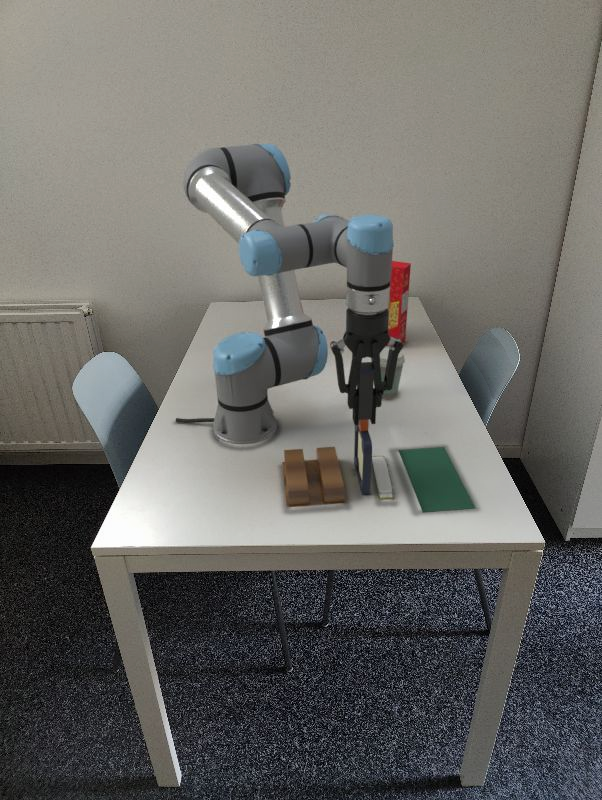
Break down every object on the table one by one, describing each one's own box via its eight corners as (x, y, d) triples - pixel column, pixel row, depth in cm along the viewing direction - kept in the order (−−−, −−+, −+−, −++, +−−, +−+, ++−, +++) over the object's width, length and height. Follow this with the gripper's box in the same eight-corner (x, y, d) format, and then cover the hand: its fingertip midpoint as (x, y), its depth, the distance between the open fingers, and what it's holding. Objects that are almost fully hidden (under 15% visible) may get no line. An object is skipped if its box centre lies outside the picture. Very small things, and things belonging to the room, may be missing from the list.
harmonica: (394, 503, 117) (395, 495, 116) (379, 504, 117) (379, 496, 116) (384, 460, 129) (384, 452, 128) (370, 460, 129) (370, 453, 128)
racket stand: (347, 507, 116) (347, 488, 114) (286, 512, 115) (285, 493, 113) (336, 462, 129) (336, 444, 127) (282, 466, 128) (281, 448, 126)
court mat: (415, 512, 114) (415, 512, 114) (391, 450, 132) (391, 450, 132) (475, 508, 115) (475, 507, 115) (444, 447, 133) (444, 446, 133)
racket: (373, 497, 118) (379, 379, 104) (358, 498, 118) (362, 380, 104) (364, 464, 127) (368, 353, 114) (350, 465, 127) (353, 353, 114)
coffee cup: (401, 403, 150) (404, 361, 144) (367, 400, 152) (369, 359, 146) (403, 387, 157) (406, 346, 151) (371, 384, 159) (373, 344, 153)
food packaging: (354, 339, 185) (356, 261, 172) (361, 333, 188) (364, 256, 176) (398, 348, 178) (404, 268, 165) (405, 342, 182) (410, 263, 169)
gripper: (325, 318, 99) (326, 433, 111) (416, 313, 100) (407, 428, 112) (321, 302, 106) (321, 413, 118) (406, 298, 107) (399, 408, 119)
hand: (363, 420), depth 115 cm, fingers closed on racket, 3 cm apart
